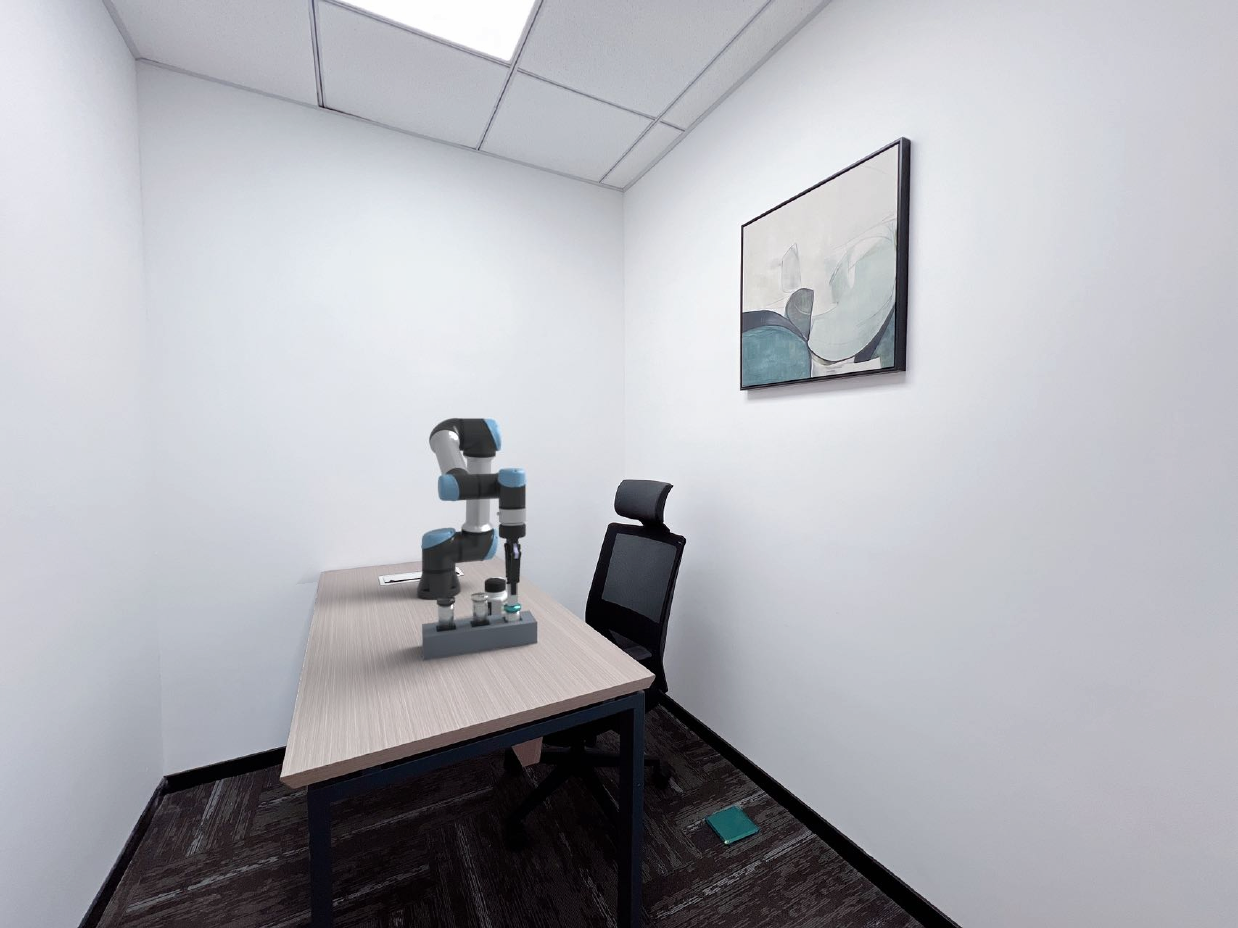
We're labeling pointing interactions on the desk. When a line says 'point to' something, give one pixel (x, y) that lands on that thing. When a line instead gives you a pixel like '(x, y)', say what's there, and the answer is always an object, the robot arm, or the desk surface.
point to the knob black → (445, 613)
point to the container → (496, 595)
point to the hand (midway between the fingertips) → (512, 604)
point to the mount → (478, 636)
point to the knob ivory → (480, 609)
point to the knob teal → (512, 613)
